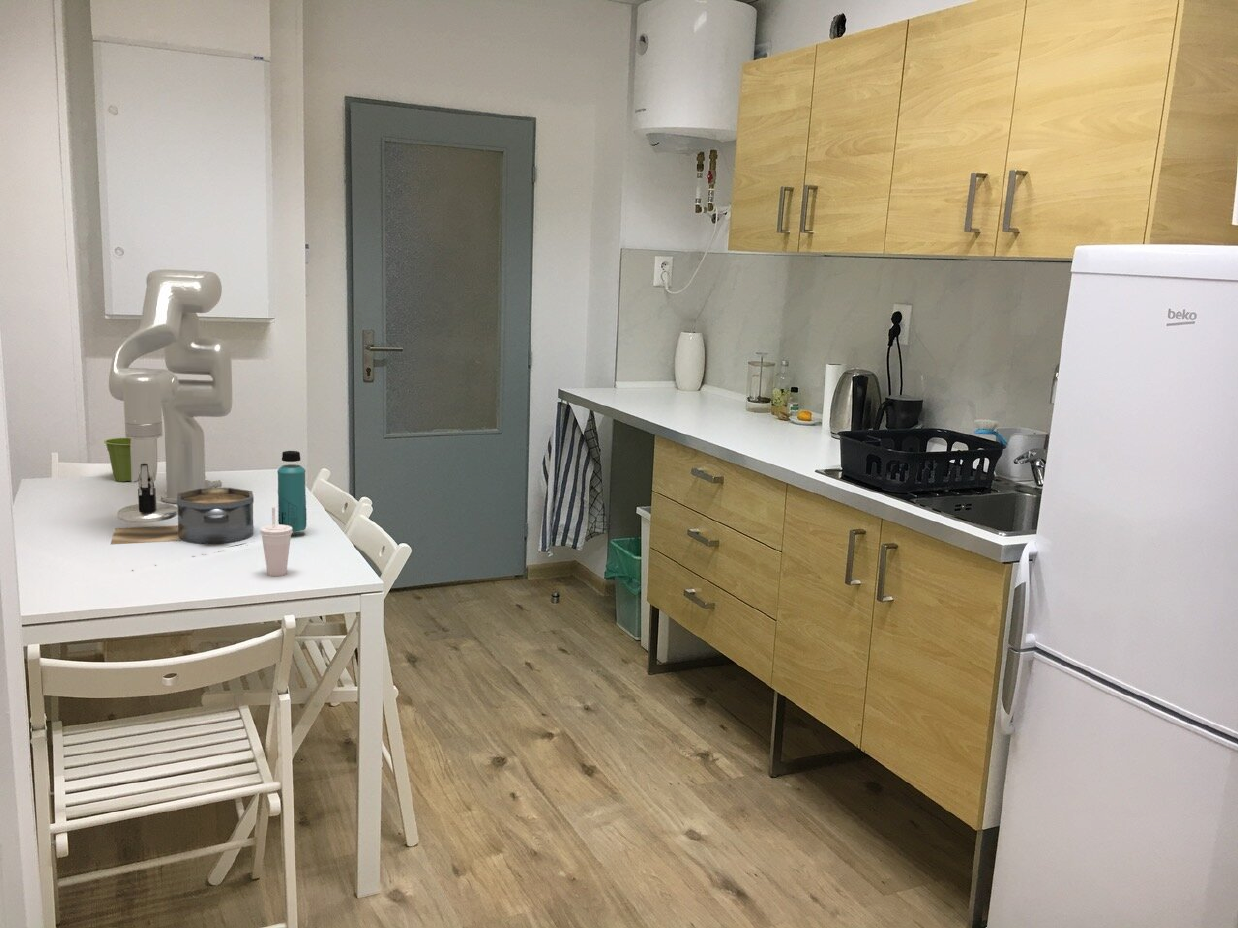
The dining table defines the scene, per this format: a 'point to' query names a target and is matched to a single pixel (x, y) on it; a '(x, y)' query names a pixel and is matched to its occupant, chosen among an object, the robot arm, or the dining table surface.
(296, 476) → the beverage bottle
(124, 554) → the dining table surface
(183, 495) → the stockpot
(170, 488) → the robot arm
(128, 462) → the plant pot
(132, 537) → the plate
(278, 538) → the smoothie
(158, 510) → the lid
